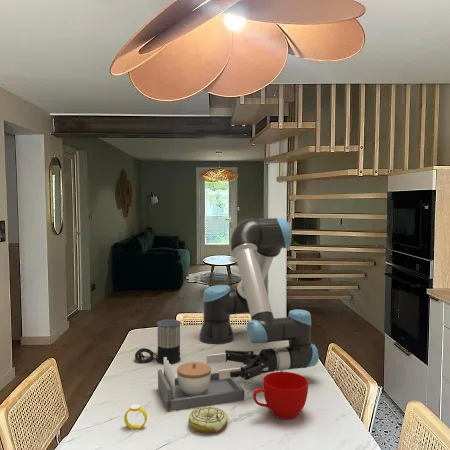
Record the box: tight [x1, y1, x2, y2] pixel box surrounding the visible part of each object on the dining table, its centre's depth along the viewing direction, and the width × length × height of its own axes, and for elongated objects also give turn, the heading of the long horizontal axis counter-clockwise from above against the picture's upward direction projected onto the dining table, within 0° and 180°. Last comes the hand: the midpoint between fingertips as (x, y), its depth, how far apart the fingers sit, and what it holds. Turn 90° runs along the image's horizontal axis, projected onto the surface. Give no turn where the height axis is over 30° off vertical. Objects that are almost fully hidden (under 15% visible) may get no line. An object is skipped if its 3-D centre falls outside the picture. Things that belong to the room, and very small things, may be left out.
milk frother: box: [134, 318, 182, 365], centre depth 169 cm, size 14×16×15 cm
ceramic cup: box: [252, 371, 309, 420], centre depth 126 cm, size 13×17×10 cm
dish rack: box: [157, 357, 246, 412], centre depth 140 cm, size 16×24×11 cm, turn 109°
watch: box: [123, 403, 148, 430], centre depth 119 cm, size 6×3×6 cm, turn 86°
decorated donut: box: [188, 406, 229, 435], centre depth 121 cm, size 10×11×4 cm
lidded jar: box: [176, 361, 212, 396], centre depth 139 cm, size 11×11×9 cm
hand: (212, 366), depth 141 cm, fingers open, 13 cm apart
